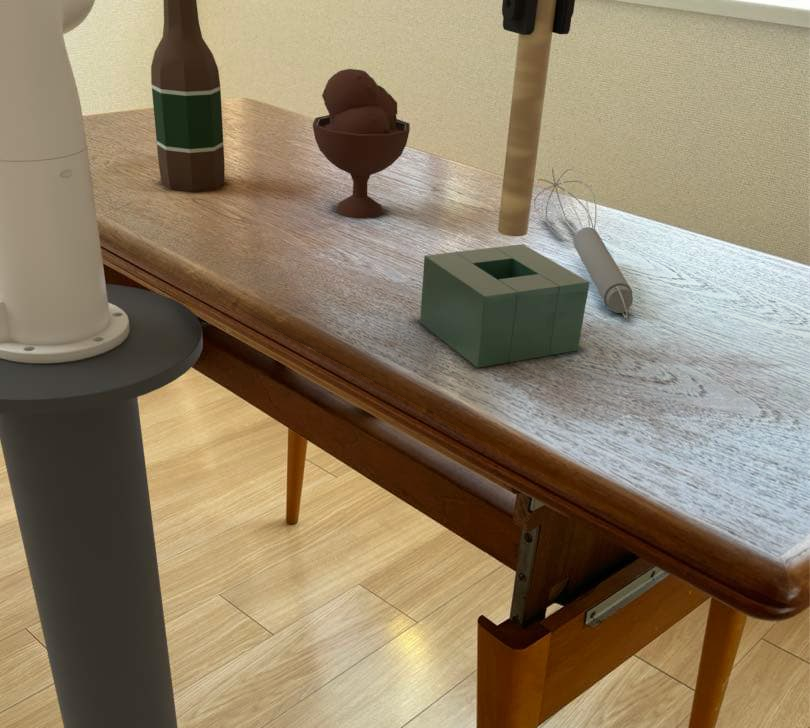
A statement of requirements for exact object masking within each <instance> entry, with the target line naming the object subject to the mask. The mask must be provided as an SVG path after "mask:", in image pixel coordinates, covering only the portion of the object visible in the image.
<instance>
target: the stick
mask: <svg viewBox="0 0 810 728" xmlns="http://www.w3.org/2000/svg"><path fill="white" fill-rule="evenodd" d="M555 8H556V0H538V2H537V10H536V19H535V28H534V31H533V33H531V35H522V34H518V37H517V46H516V47H517V48H516V56H515V66H514V73H513V74H514V76H513V83H512V84H513V86H512V93H511V102H510V112H509V123H508V131H507V139H506V140H507V141H506V152H505V160H504V170H503V178H502V188H501V197H500V207H499V216H498V224H497V225H498V226H497V232H498V233H499V234H501V235H504V236H508V237H523V236H526V235H527V234H528V231H529V223H530V215H531V209H532V208H531V207H532V199H533V192H534V191H533V190H534V182H535V177H536V176H535V175H536V167H537V160H538V150H539V142H540V135H541V128H542V127H541V126H542V119H543V112H544V111H543V110H544V102H545V96H546V87H547V79H548V71H549V65H550V54H551V47H552V39H553V24H554V16H555Z"/></svg>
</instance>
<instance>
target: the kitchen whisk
mask: <svg viewBox="0 0 810 728" xmlns="http://www.w3.org/2000/svg"><path fill="white" fill-rule="evenodd" d="M572 170H573V171H575V172H576V173H577V174H578V176H579V179H580V180H565V181H563V179H562V177H563V176H564V175H565V174H566V173H567V172H568V171H572ZM554 171H555V173H556V174H557V175H556V176H558V179H557V181H556V179H555V173H554ZM551 173H552V178H553V182H551V181H549V180H547V179H544V178H537V180H536V186H537V187H538V189H539V193H538V194H536V196H535V198H534V199H533V208H534V209H535V212H536V213H537V215H538V216H539V217H540V218H541V219H542V220H543V221H544V222H545V223H546V224H547V226H548V228H549V229H550V231H551V232H552V233H553V234H554V235H555V236H556V237H558V238H560V239H561V240H563V241H564V242H567V243H569V244H572V245H573V247H574V249H575V251H576V252H577V254H578V256H579V258H580V260H581V262H582V264H583V266H584V267H585V269H586V271H587V273H588V275H589V277H590V279H591V281H592V282H593V284H594V286H595V288H596V290H597V292H598V294H599V295H600V298H601V299H602V301H603V303H604V305H605V307H607V308H608V309H609V310H610V311H612V312H614V313H615V314H616V313H617V314H620V313H621V314H622V316H623V317H624V318H626V319H627V318H628V317H629V313H628V310H629V309H630V308H631V307H632V305H633V303H634V296H633V290H632V288H631V286H630V284H629V283H628V281H627V280H626V277H625V276H624V274H622V271H621V270H620V268H619V266H618V265H617V263H616V261H615V259H614V258H613V256H612V255H611V253H610V251H609V249H608V248H607V247H606V245H605V243H604V241H603V239H602V238H601V236H600V234H599V233H598V231H597V230H596V225H597V211H598V210H597V201H596V200H597V199H596V196H595V192H594V191H593V189H592V188H591V186H590V185H589V184H587V183H585V181H584V180H583V178H582V176H581V174H580V172H579V171H578V170H577V169H575V168H573V167H572V168H567V169H566V170H565V171H564V172H563V173H562V174H559V172H558V171H557V169H556V168H555V167H552V170H551ZM539 181H542V182H546V183H548V184H551V185H550V186H548V187H546V188H543V189H541V187H540V185H539ZM559 181H560V182H559ZM566 183H579V184H581V185H582V187H583V188H582V189H583V191H584V196H585V197H584V199H585V202H586V206H585V205H584V204H583V203H582V202H581V201H580V200H579V198H578V197H576V196H574V195H573V194H572V193H570V192H569V191H568V190H567V188H566V186H565V184H566ZM560 185H562V187H561V186H560ZM585 186H586V187H587V188H588V189H589V190H590V192H591V195H592V197H593V201H594V207H595V208H594V214H595V215H594V224H593V219H592V217H591V215H590V211H589V202H588V197H587V191H586V187H585ZM551 188H552V190H551V192H550V194H549V195H548V197H547V196H546V195H545V193H544V191H546V190H549V189H551ZM558 188H559V189H561V190H563V191H564V192H565V193H566V195H567V197H568V200H569V202H570V204H571V207H572V208H573V211H574V213H575V216H576V218H577V221H578V223H579V225H580V228H581V229H579V230H578V231H576V230H575V229H574V227H573V226H572V225H571V224H570V222H569V220H568V218H567V216H566V214H565V211H564V208H563V205H562V203H561V198H560V195H559V192H558ZM554 190H555V192H556V196H557V199H558V203H559V205H560V209H561V211H562V214H563V216H564V217H563V216H562V215H561V213H560V212H559V211H558V210H557V208H556V207H555V206H554V205H553V204H552V202H551V201H550V199H551V196H552V195H553V192H554ZM541 194H542V196H543V197H544V198H545V200H546V201H547V202H546V205H545V218H544V217H543V215H541V214H540V212H539V211H538V209H537V207H536V200H537V198H538V196H540V195H541ZM571 196H572V197H573V198H574V199H575V200H576V201H577V202H578V203H579V204H580V206H582V208H583V209H584V210H585V212H586V214H587V224H588V226H587V227H583V225H582V222H581V220H580V217H579V215H578V212H577V210H576V208H575V206H574V203H573V201H572V199H571ZM549 205H550V207H552V209H553V210H554V211H555V212H556V213H557V214H558V216H559V217H560V218H561V219H562V220H563V221H564V222H565V223H566V225H568V227H569V229H570V230H571V232H572V233H573V235H574V237H572V236H570V235H568V234H567V233H565V232H564V231H562V230H560V229H558V228H557V227H555V226H554V225H552V224H551V223H550V222H549V219H548V215H547V214H548V206H549ZM553 229H554V230H556V231H557V232H559V233H561V234H562V235H564V236H566V237H567V238H569V239H571V240H572V241H570V240H568V239H565V238H564V237H562V236H560V235H559V234H557V232H555V231H554V230H553ZM624 312H625V313H624Z"/></svg>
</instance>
